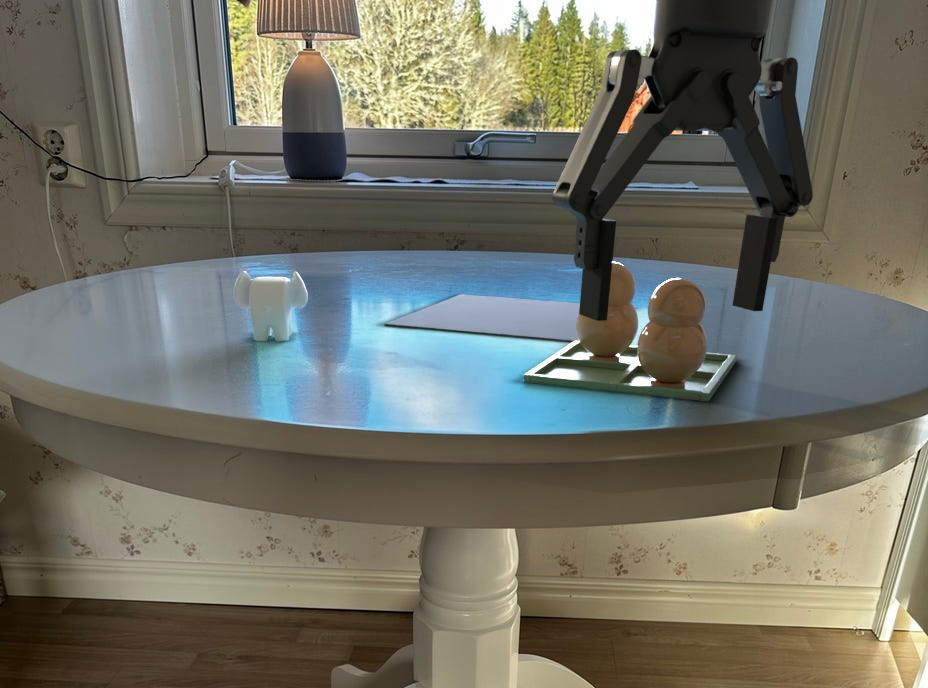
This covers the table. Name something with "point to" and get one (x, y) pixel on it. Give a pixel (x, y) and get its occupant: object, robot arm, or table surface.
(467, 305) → the mat
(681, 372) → the tan snowman shaped figurine
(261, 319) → the elephant figurine
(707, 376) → the green divided tray
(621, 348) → the snowman figurine
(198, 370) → the table surface
